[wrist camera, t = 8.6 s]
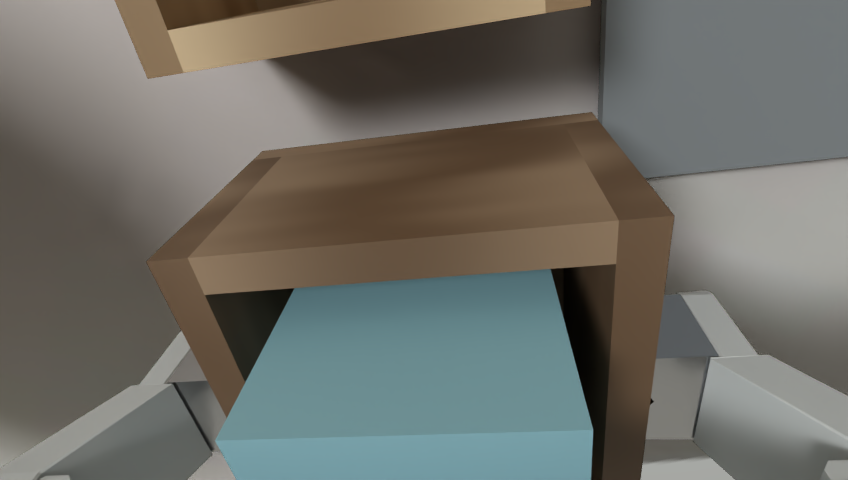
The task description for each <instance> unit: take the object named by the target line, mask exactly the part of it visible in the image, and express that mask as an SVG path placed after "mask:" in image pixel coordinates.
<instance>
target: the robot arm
mask: <svg viewBox="0 0 848 480" xmlns="http://www.w3.org/2000/svg"><path fill="white" fill-rule="evenodd" d="M226 419H227V418H226V416H225V414H224V412H223V410H222V408H221V406H220V404H219V402H218V400H217V398H216V397H215V395H214V393H213V391H212V389H211V387H210V385H209V383H208V381H207V379H206V377H205V375H204V373H203V371H202V369H201V367H200V366H199V364H198V362H197V360H196V358H195V356H194V354H193V352H192V350H191V348H190V346H189V344H188V342H187V340H186V338H185V336H184V335H183V333H182V331H180V333H179V334H178V335H177V337H176V338H175V339H174V340H173V342H172V343H171V344H170V346H169V347H168V348H167V349H166V351H165V352H164V353H163V355H162V356H161V357H160V358H159V360H158V361H157V362H156V364H155V365H154V366H153V367H152V369H151V370H150V371H149V373H148V374H147V375H146V376H145V378H144V379H143V380H142V382H141V383H140V384H139V385H131V386H130V387H128V388H126V389H125V390H123V391H122V392H120V393H119V394H117V395H115V396H114V397H112V398H111V399H109V400H107V401H106V402H104V403H103V404H101V405H99V406H98V407H96V408H95V409H93V410H91V411H90V412H88V413H87V414H85V415H84V416H82V417H80V418H79V419H77V420H76V421H74V422H72V423H71V424H69V425H68V426H66V427H64V428H63V429H61V430H60V431H58V432H57V433H55V434H53V435H52V436H50V437H49V438H47V439H45V440H44V441H42V442H41V443H39V444H37V445H36V446H34V447H33V448H31V449H29V450H28V451H26V452H25V453H23V454H22V455H20V456H18V457H17V458H15V459H14V460H12V461H10V462H9V463H7V464H6V465H4V466H2V467H1V468H0V480H187V479H188V478H189V477H190V476H191V475H192V474H193V473H194V472H195V471H196V470H197V469H198V468H199V467H200V466H201V465H202V464H203V463H204V462H205V461H206V460H207V459H208V458H209V457H210V456H211V455H212V452H219V451H220V449H219V447H218V445H217V444H216V442H215V440H216V438H217V436H218V434H219V432H220V430H221V428H222V426H223V424H224V423H225V421H226ZM646 439H694V441H693V442H694V443H695V444H696V445H697V446H698V447H699V448H701V449H702V450H703V451H704V452H705V453H706V454H707V455H708V456H709V457H711V458H712V459H713V460H714V461H715V462H716V463H717V464H718V465H720V466H721V467H722V468H723V469H724V470H725V471H726V472H727V473H728V474H729V475H731V476H732V477H733V478H734V479H735V480H848V396H847V395H845V394H843V393H841V392H839V391H837V390H835V389H833V388H831V387H829V386H828V385H826V384H824V383H822V382H820V381H818V380H816V379H814V378H812V377H810V376H808V375H806V374H805V373H803V372H801V371H799V370H797V369H795V368H793V367H791V366H789V365H787V364H785V363H783V362H781V361H780V360H778V359H776V358H774V357H772V356H770V355H758V354H757V352H756V351H755V350H754V348H753V347H752V346H751V344H750V343H749V342H748V340H747V339H746V338H745V336H744V335H743V334H742V332H741V331H740V330H739V328H738V327H737V326H736V324H735V323H734V322H733V320H732V319H731V318H730V316H729V315H728V314H727V312H726V311H725V310H724V308H723V307H722V306H721V304H720V303H719V302H718V300H717V299H716V298H715V296H714V295H713V294H712V293H711V292H709V291H707V290H703V291H692V292H681V293H676V294H666V295H664V300H663V307H662V315H661V323H660V331H659V339H658V346H657V354H656V362H655V370H654V377H653V385H652V393H651V401H650V408H649V416H648V424H647V432H646Z"/></svg>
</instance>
